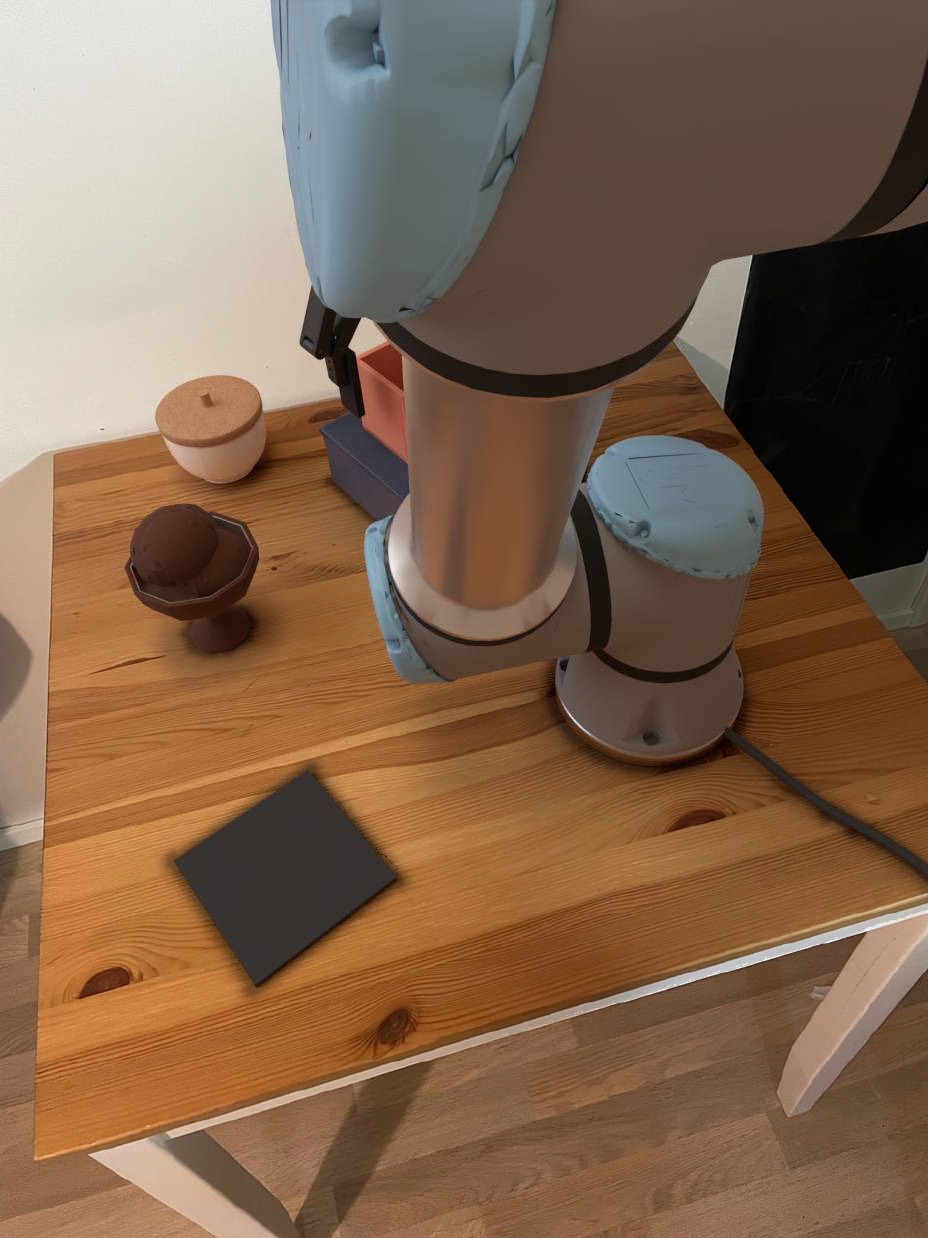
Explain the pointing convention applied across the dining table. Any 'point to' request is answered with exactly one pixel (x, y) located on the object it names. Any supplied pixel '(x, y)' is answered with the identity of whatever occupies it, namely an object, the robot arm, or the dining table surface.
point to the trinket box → (214, 427)
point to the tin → (365, 466)
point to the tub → (384, 397)
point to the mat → (283, 875)
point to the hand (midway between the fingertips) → (413, 378)
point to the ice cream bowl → (195, 571)
